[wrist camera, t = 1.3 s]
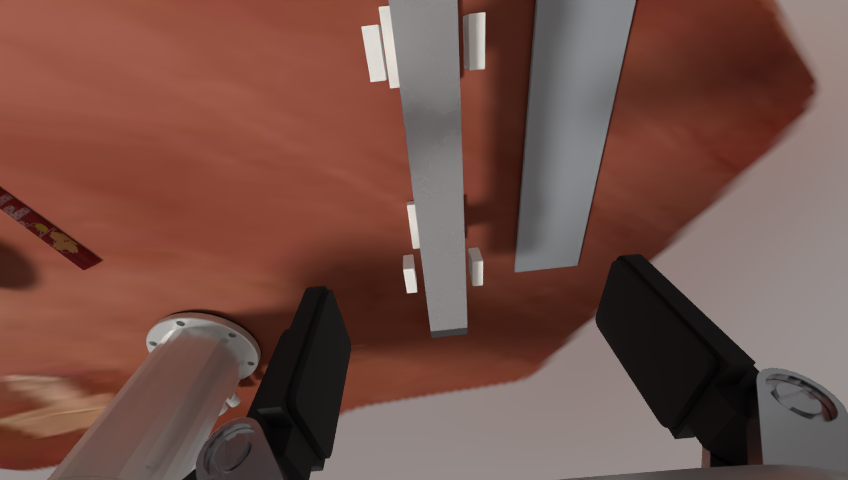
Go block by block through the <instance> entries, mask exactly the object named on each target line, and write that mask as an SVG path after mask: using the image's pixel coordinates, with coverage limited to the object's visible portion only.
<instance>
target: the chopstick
mask: <svg viewBox="0 0 848 480" xmlns="http://www.w3.org/2000/svg"><path fill="white" fill-rule="evenodd" d="M0 209H2V210H3V211H4V212H6V213H7V214H8V215H10V216H11V217H12V218H14V219H15V220H16V221H18V222H19V223H20V224H22V225H23V226H24V227H26V228H27V229H29V230H30V231H31V232H33V233H34V234H35V235H37V236H38V237H39V238H41V239H42V240H43V241H45V242H46V243H47V244H49V245H50V246H51V247H53V248H54V249H55V250H57V251H58V252H60V253H61V254H62V255H64V256H65V257H66V258H68V259H69V260H70V261H72V262H73V263H74V264H76V265H77V266H78V267H80V268H81V269H82V270H86V269H88V268H90V267H91V266H93V265H95V264H97V263H98V262H100V260H99V259H98V258H96V257H95V256H94V255H92V254H91V253H89V252H88V251H87V250H85V249H84V248H82V247H81V246H80V245H78V244H77V243H75V242H74V241H73V240H71V239H70V238H68V237H67V236H66V235H64V234H63V233H61V232H60V231H59V230H57V229H56V228H54V227H53V226H52V225H50V224H49V223H48V222H46V221H45V220H43V219H42V218H41V217H39V216H38V215H36V214H35V213H34V212H32V211H31V210H29V209H28V208H27V207H25V206H24V205H22V204H21V203H20V202H18V201H17V200H15V199H14V198H13V197H11V196H10V195H8V194H7V193H6V192H4V191H3V190H2V189H0Z"/></svg>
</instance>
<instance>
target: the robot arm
mask: <svg viewBox="0 0 848 480" xmlns="http://www.w3.org/2000/svg"><path fill="white" fill-rule="evenodd" d="M596 324H597V327H598V328H599V330H600V332H601V333H602V334H603V336H604V338H605V339H606V341H607V342H608V344H609V345H610V347H611V348H612V350H613V352H614V353H615V355H616V356H617V358H618V359H619V361H620V362H621V364H622V365H623V367H624V369H625V370H626V372H627V373H628V375H629V376H630V378H631V379H632V381H633V382H634V384H635V386H636V387H637V389H638V390H639V392H640V393H641V395H642V396H643V398H644V399H645V401H646V403H647V404H648V405H649V407H650V409H651V410H652V412H653V413H654V415H655V416H656V418H657V419H658V421H659V422H660V424H661V425H662V426H664V427H666V428H668V429H669V430H670V432H671V433H672V435H673V436H674V438H675V439H681V438H692V437H695V436H696V437H697V439H698V440H699V442H700V443H701V444H702V446H703V447H702V465H701V468H694V469H681V470H669V471H656V472H645V473H633V474H620V475H608V476H597V477H596V476H595V477H584V478H573V479H562V480H848V413H847V411H846V409H845V407H844V405H843V404H842V403H841V402H840V401H839V400H838V399H837V398H836V397H835V395H833V394H832V393H831V392H829V391H828V390H827V389H826V388H824V387H823V386H821V385H820V384H818V383H816V382H815V381H813V380H811V379H809V378H807V377H805V376H803V375H800V374H798V373H796V372H792V371H788V370H785V369H778V368H768V369H763V370H762V371H761V372H759V371H758V370H757V369H756V368H755V367H754V366H753V365H754V364H755V361H754V360H752V359H751V358H750V357H749V356H748V355H747V354H746V353H745V352H744V351H743V350H742V349H741V348H740V347H739V346H738V345H737V344H735V343H734V342H733V341H732V340H731V339H730V338H729V337H728V336H727V335H726V334H725V333H724V332H723V331H722V330H721V329H719V327H718V326H716V325H715V324H714V323H713V322H712V321H711V320H710V319H709V318H708V317H707V316H706V315H705V314H704V313H703V312H702V311H700V310H699V309H698V308H697V307H696V306H695V305H694V304H693V303H692V302H691V301H690V300H689V299H688V298H687V297H686V296H685V295H684V294H682V293H681V292H680V291H679V290H678V289H677V288H676V287H675V286H674V285H673V284H672V283H671V282H670V281H669V280H667V278H665V277H664V276H663V275H662V274H661V273H660V272H659V271H658V270H657V269H656V268H655V267H654V266H653V265H652V264H651V263H650V262H649V261H647V260H646V259H645V258H644V257H643V256H642V255H640V254H634V255H624V256H619V257H618V258H617V260H616V261H614V262H612V265H611V268H610V271H609V274H608V278H607V281H606V284H605V288H604V291H603V294H602V297H601V301H600V304H599V307H598V311H597V314H596ZM146 344H147V347H148V350H149V352H150V354H149V355H148V357H147V358H146V359H145V360H144V362H143V363H142V364H141V365H140V367H139V368H138V369H137V370H136V371H135V373H134V374H133V375H132V376H131V378H130V379H129V380H128V381H127V382H126V384H125V385H124V386H123V387H122V389H121V390H120V391H119V392H118V394H117V395H116V396H115V397H114V398H113V400H112V401H111V402H110V403H109V405H108V406H107V407H106V408H105V409H104V411H103V412H102V413H101V414H100V416H99V417H98V418H97V419H96V421H95V422H94V423H93V424H92V425H91V427H90V428H89V429H88V430H87V432H86V433H85V434H84V435H83V437H82V438H81V439H80V440H79V441H78V443H77V444H76V445H75V446H74V448H73V449H72V450H71V451H70V452H69V454H68V455H67V456H66V457H65V459H64V460H63V461H62V462H61V464H60V465H59V466H58V467H57V468H56V470H55V471H54V472H53V473H52V475H51V476H50V477H49V478H48V479H47V480H309V478H310V473H311V471H321V470H323V467H324V462H325V459H326V458H330V456H331V453H332V449H333V444H334V439H335V433H336V428H337V422H338V417H339V412H340V406H341V401H342V395H343V390H344V385H345V379H346V374H347V369H348V363H349V358H350V352H351V342H350V339H349V336H348V333H347V330H346V328H345V325H344V322H343V319H342V316H341V313H340V311H339V308H338V305H337V302H336V299H335V297H334V294H333V291H332V290H327V288H326V287H325V286H319V287H309V288H307V289H306V290H305V293H304V295H303V297H302V300H301V302H300V305H299V307H298V310H297V312H296V315H295V317H294V319H293V322H292V324H291V327H290V329H287V330H285V331H284V332H283V333H282V335H281V337H280V339H279V342H278V344H277V346H276V349H275V351H274V353H273V356H272V358H271V360H270V363H269V365H268V367H267V370H266V372H265V374H264V377H263V379H262V381H261V384H260V386H259V388H258V391H257V393H256V395H255V398H254V400H253V402H252V405H251V407H250V409H249V412H248V414H247V416H246V417H241V418H237V419H234V420H231V421H229V422H228V423H226V424H224V425H222V426H221V427H220V428H219V429H218V430H216V431H215V432H214V433H213V434H212V435H211V436H210V437H209V439H208V440H207V438H208V436H209V434H210V432H211V430H212V428H213V426H214V424H215V422H216V420H217V418H218V416H219V415H222V414H223V413H224V412H226V410H227V409H228V406H229V405H230V406H231V407H235V406H237V405H238V404H239V403H240V402H241V398H240V397H239V395H238V394H237V393H236V392H235V390H236V388H237V386H238V384H239V382H240V380H241V379H244V378H246V377H247V376H249V375H251V374H252V373H253V372H254V371H255V369H256V367H257V365H258V363H259V360H260V358H261V352H260V348H259V345H258V344H257V342H256V340H255V339H254V338H253V337H252V336H251V335H250V333H248V332H247V331H246V330H245V329H243V328H242V327H240V326H239V325H237V324H235V323H233V322H231V321H229V320H226V319H224V318H221V317H218V316H214V315H210V314H204V313H192V312H189V313H178V314H173V315H169V316H167V317H165V318H163V319H161V320H160V321H158V322H157V323H156V324H155V325H154V326H153V328H152V329H151V330H150V331H149V333H148V335H147V339H146ZM206 440H207V441H206ZM196 460H197V461H196ZM195 462H196V469H194V470H193V471H192V472H191V470H192V468H193V466H194V464H195ZM190 472H191V473H190Z"/></svg>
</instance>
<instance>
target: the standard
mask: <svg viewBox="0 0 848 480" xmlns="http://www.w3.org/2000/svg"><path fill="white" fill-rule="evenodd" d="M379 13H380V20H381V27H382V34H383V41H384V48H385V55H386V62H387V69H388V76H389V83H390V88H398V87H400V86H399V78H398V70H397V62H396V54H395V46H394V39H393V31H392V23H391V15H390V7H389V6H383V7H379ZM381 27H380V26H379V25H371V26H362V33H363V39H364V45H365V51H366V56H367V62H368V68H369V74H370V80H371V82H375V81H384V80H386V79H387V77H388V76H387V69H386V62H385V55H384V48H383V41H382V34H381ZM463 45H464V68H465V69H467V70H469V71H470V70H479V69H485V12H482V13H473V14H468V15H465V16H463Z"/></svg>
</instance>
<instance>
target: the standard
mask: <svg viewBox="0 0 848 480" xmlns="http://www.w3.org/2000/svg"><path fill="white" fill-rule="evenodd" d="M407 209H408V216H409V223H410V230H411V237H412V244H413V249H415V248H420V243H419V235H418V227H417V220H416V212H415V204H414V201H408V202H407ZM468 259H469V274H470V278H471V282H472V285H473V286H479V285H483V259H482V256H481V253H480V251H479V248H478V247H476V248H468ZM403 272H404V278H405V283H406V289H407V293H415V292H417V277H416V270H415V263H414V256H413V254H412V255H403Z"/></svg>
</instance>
